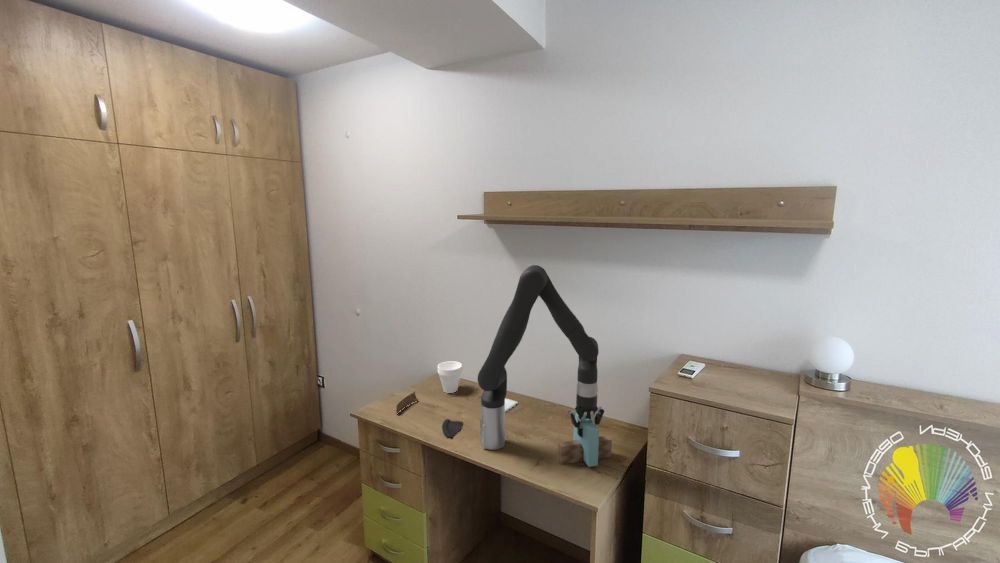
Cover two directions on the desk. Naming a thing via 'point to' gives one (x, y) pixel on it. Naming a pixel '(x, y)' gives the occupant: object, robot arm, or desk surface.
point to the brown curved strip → (406, 401)
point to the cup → (450, 375)
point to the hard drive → (509, 404)
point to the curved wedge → (451, 427)
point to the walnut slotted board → (574, 453)
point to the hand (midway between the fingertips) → (585, 435)
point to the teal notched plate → (588, 442)
